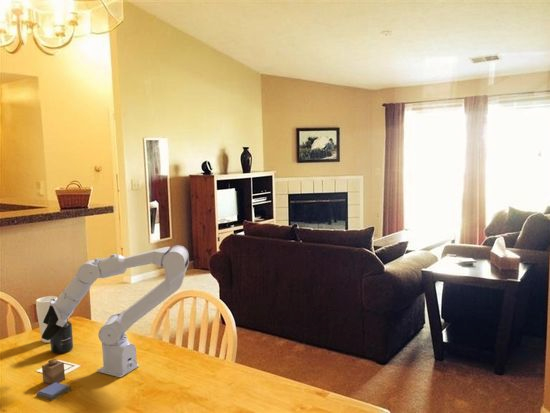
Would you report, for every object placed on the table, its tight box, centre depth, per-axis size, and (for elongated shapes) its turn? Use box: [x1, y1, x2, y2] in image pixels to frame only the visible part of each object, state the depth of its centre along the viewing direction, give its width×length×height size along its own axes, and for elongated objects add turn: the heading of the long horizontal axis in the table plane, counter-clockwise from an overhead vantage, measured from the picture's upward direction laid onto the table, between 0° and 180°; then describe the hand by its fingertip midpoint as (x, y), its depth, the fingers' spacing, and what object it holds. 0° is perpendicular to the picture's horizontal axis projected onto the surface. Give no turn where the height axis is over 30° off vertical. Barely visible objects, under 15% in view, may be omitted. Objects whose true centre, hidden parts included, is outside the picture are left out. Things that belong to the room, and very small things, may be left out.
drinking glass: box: [35, 295, 58, 344], centre depth 162 cm, size 7×7×15 cm
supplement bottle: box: [49, 318, 74, 355], centre depth 154 cm, size 7×7×12 cm
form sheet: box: [35, 359, 82, 375], centre depth 141 cm, size 10×8×1 cm
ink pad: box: [36, 382, 72, 401], centre depth 127 cm, size 6×6×1 cm
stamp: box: [41, 358, 66, 386], centre depth 133 cm, size 4×4×6 cm
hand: (45, 330), depth 137 cm, fingers open, 7 cm apart
